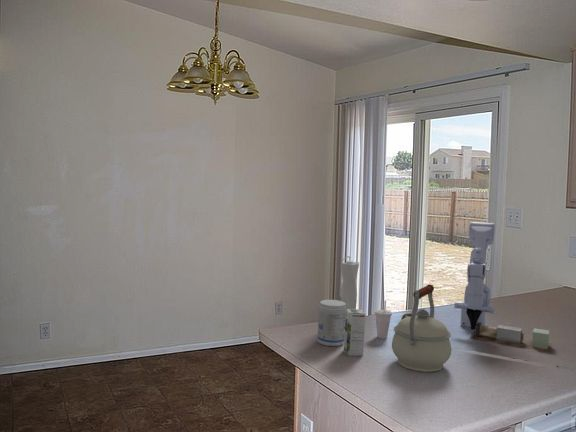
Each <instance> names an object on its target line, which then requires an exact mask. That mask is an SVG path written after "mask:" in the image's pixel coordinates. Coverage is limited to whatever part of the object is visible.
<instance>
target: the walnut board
mask: <svg viewBox="0 0 576 432" xmlns="http://www.w3.org/2000/svg"><path fill="white" fill-rule="evenodd" d="M469 339H470V340H475V341H481V342H482V341H483V342H487V343H488V342H489V343H492V344H493V343H494V344H500V345H506V346H512V347H515V348H517V347H518V348H523V349H528V350H535V351H542V352H546V353H551V352H552V343H550V342H548V349H542V348H537V347H532V340H533V339H526V338H525V339H524V338H523V342H522V341H521V343H520V344H515V343H509V342H503V341H497V337H491V336H485V335H480V336H476V330H473V333H472V334H471V336H470V337H469Z"/></svg>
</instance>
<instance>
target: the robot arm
mask: <svg viewBox="0 0 576 432" xmlns="http://www.w3.org/2000/svg"><path fill="white" fill-rule="evenodd" d="M495 227H496V223H494V222H482V221H481V222H478V221H477V222H476V221H470V222H469V228H468V236H469V242H470V243H471V244H473V245H474V248H473V249H471V251H470V257H469V263H468V264H467V268H466V270H467V271H466V275H467V284H466V286H465V289H464V290H465V291H464V294H463V295H464V299H463V302H454V307H453V308H454V309H461V312H460V326H463V327H468V328H470V330H473V331H476V324H477V323H478V322H481V325H484V326H486V318H487V317H486V315H487V314H486V313H488V314H492V315H494V314H495V313H496V307H492V306H490V303H491V289H490V287H489V286H488V285H487V284H485V279H486V275H487V264H486V261H487V250H488V247H489V246H490V245H492V244H493V243H494V241H495V231H496V228H495Z"/></svg>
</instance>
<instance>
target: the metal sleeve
mask: <svg viewBox="0 0 576 432" xmlns="http://www.w3.org/2000/svg"><path fill="white" fill-rule="evenodd" d="M521 331H523V327H516V326H515V327H514V326H507V325H504V324H503V325H502V324H498V325H497V341H503V342H509V343H515V344H520V343H521V341H520V338H521Z"/></svg>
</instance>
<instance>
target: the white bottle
mask: <svg viewBox="0 0 576 432" xmlns="http://www.w3.org/2000/svg"><path fill="white" fill-rule="evenodd" d="M347 258H348V259H349V260H346V259H347ZM351 258H352V257H351V256H345V257H344V258H342V260H341V262H340V267H341V268H340V271H341V279H342V282H341V288H340V296H339V301H342V302H345V303H346V309H357V302H358V301H357V300H358V299H357V298H358V291H357V282H356V281H357V276H358V273H359V268H360V262H359V261H353V260H351ZM344 260H346V262H344ZM345 319H346V317H345Z"/></svg>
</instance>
